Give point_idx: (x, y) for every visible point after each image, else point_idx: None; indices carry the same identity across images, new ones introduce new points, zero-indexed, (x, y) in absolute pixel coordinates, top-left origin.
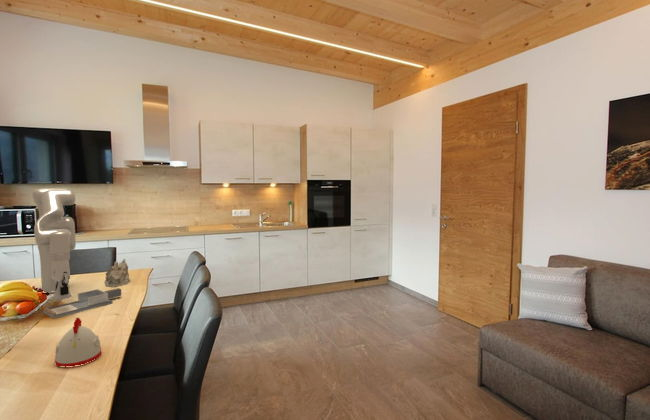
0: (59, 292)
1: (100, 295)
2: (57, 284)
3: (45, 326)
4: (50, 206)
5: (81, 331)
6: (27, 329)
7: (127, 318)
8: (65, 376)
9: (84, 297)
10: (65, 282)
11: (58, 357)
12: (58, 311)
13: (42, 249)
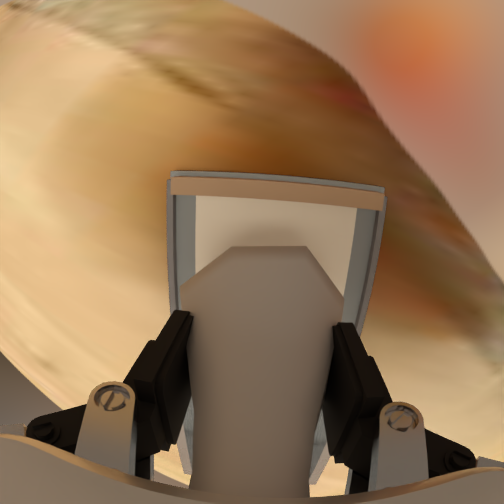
0: (209, 328)
1: (179, 453)
2: (374, 422)
3: (90, 103)
4: None
5: None
6: (126, 31)
7: (4, 347)
8: None
9: (321, 421)
10: (3, 432)
11: None
12: (252, 236)
13: None
